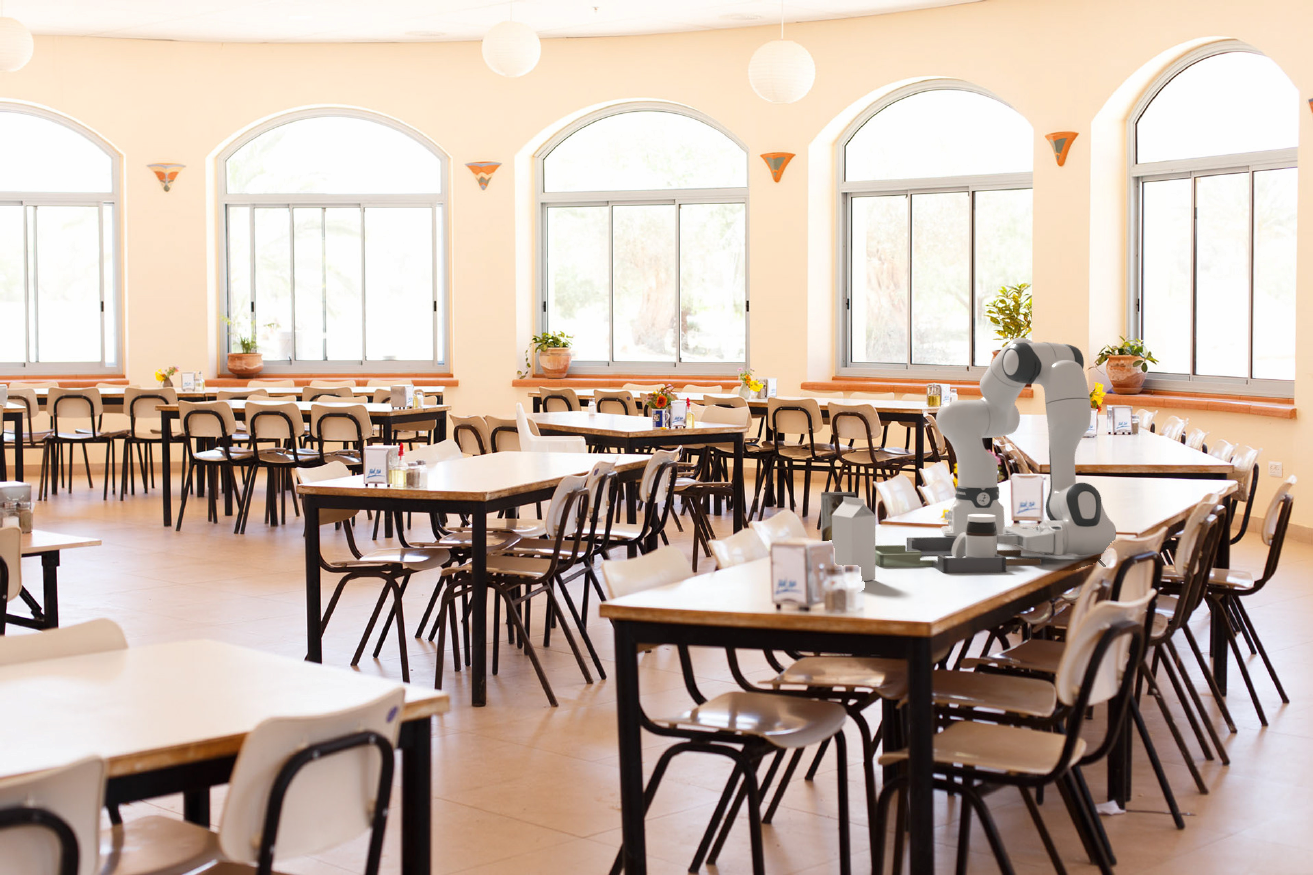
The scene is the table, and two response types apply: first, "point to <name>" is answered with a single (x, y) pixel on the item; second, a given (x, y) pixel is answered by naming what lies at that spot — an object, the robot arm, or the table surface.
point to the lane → (903, 558)
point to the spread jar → (977, 537)
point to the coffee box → (830, 510)
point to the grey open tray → (931, 545)
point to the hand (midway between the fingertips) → (996, 538)
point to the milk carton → (854, 536)
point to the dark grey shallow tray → (970, 564)
